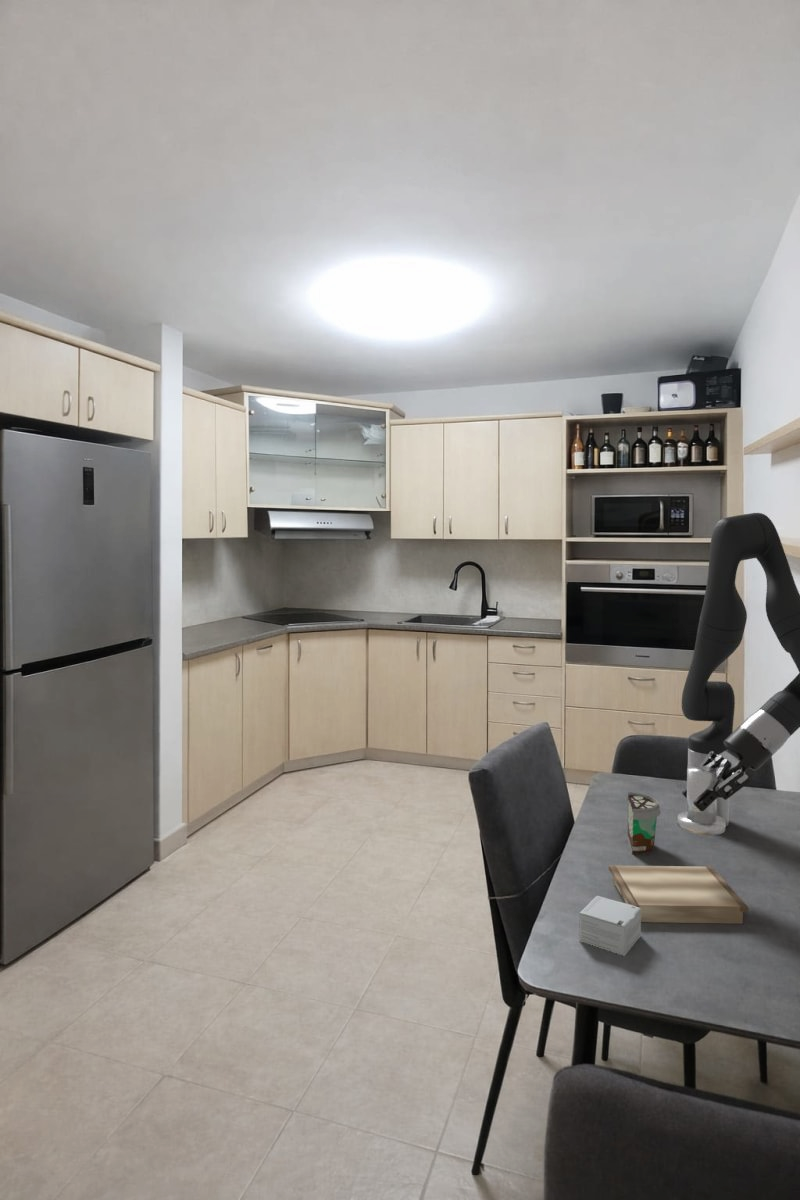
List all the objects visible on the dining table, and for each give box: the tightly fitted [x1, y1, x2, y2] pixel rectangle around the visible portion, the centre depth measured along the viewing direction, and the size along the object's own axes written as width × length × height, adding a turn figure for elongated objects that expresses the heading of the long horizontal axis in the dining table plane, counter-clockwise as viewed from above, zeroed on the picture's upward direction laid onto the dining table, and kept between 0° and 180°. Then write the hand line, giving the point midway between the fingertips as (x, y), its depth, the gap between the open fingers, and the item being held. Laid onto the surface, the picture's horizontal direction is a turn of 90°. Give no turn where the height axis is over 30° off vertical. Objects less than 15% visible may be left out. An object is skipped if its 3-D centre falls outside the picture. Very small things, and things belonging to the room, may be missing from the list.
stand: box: [608, 864, 749, 925], centre depth 135 cm, size 16×20×3 cm
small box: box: [578, 895, 642, 957], centre depth 122 cm, size 8×8×5 cm
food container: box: [626, 791, 661, 855], centre depth 159 cm, size 12×6×10 cm, turn 168°
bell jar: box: [677, 765, 726, 836], centre depth 139 cm, size 8×8×11 cm
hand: (691, 802), depth 139 cm, fingers closed on bell jar, 5 cm apart
